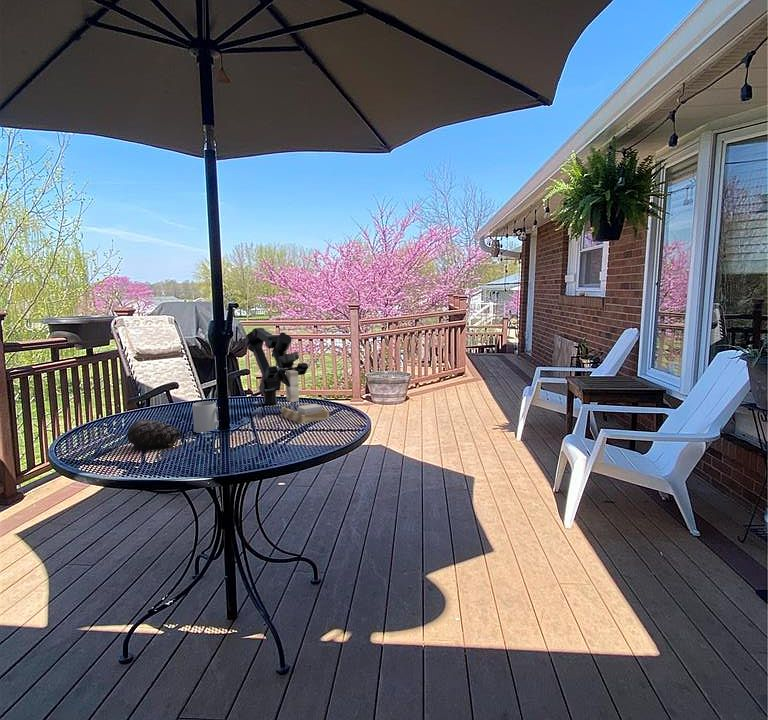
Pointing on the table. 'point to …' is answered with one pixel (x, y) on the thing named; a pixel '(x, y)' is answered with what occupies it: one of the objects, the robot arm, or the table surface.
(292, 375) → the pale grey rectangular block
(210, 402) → the mug
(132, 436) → the pine cone
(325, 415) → the tray
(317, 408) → the offcut top
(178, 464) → the table surface
